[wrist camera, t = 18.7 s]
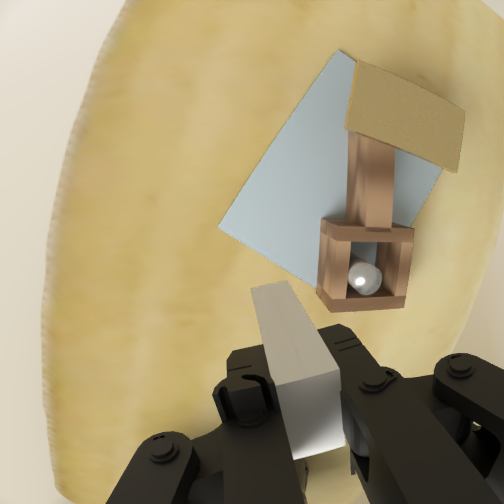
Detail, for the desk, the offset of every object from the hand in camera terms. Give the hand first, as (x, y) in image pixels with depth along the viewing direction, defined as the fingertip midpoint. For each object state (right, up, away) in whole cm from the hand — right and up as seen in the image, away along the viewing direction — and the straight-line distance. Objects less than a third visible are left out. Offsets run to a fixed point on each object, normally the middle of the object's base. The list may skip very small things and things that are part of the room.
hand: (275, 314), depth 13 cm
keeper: (+13, +17, +22) cm, 31 cm away
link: (+11, +8, +24) cm, 27 cm away
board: (+11, +11, +23) cm, 28 cm away
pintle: (+10, +2, +26) cm, 27 cm away
